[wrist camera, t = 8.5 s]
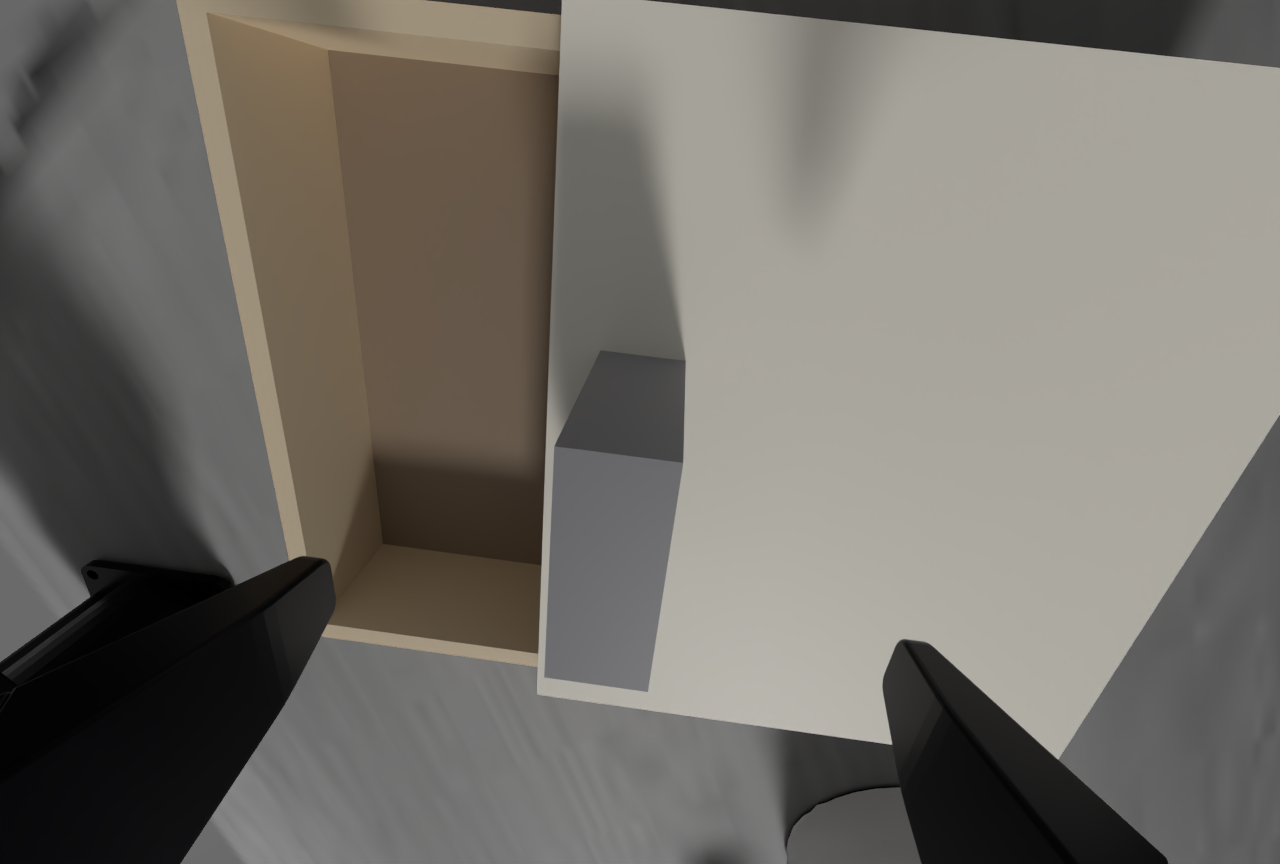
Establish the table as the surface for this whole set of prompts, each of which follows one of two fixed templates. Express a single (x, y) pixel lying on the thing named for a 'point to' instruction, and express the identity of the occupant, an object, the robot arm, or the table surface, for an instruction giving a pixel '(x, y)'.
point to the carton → (394, 295)
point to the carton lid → (889, 357)
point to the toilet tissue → (855, 831)
